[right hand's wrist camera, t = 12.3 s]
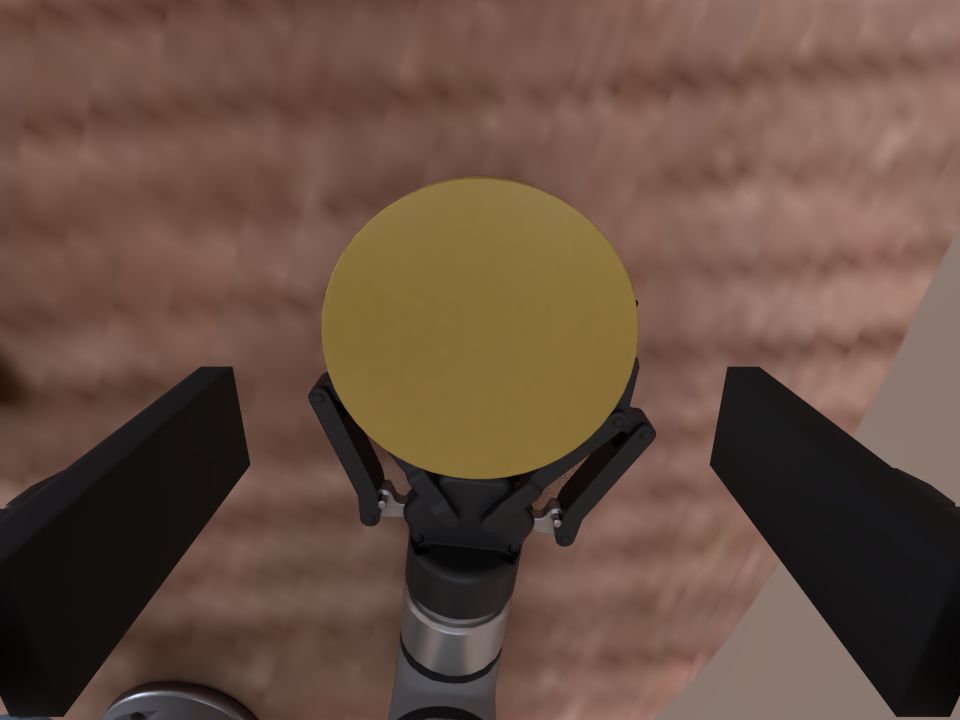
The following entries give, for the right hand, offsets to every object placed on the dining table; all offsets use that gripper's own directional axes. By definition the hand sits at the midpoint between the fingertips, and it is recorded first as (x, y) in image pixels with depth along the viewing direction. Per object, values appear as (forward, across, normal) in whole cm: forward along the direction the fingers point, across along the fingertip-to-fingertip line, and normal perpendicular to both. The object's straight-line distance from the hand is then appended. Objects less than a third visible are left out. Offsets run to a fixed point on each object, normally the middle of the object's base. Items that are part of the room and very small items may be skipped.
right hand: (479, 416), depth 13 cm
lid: (+6, 0, 0) cm, 6 cm away
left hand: (+17, -1, 0) cm, 17 cm away
